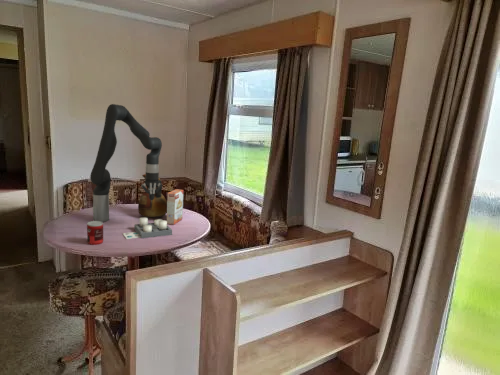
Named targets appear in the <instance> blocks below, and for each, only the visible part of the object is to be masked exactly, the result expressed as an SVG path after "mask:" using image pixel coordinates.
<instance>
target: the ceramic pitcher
mask: <svg viewBox="0 0 500 375" xmlns="http://www.w3.org/2000/svg"><path fill="white" fill-rule="evenodd" d="M142 177H143V178H144V179H145V177H146V173H144V174H142ZM159 183H160V184H162V185H163V183H162V180H161V178H160V177H159ZM157 187H158V185H157ZM157 187H156V188H157ZM156 188H155V189H156ZM146 189H147V190H148V191H149V189H148V187H147V186H146ZM162 190H163V186H162V187H161V189H160V190H159V191H158V192H157V193H155V194H154V199H153V200H150V199H149V193H147V192H146V191H145V190H144V192H143V193H142V194H141V195H140V198H139V201H138V205H137V206H138V208H137V209H138V210H137V212H138V214H139V215H140V216H142V217H146V218H157V217H164V216H166V215H167V199H166V198H165V196H164V195H163V193H162Z"/></svg>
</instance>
